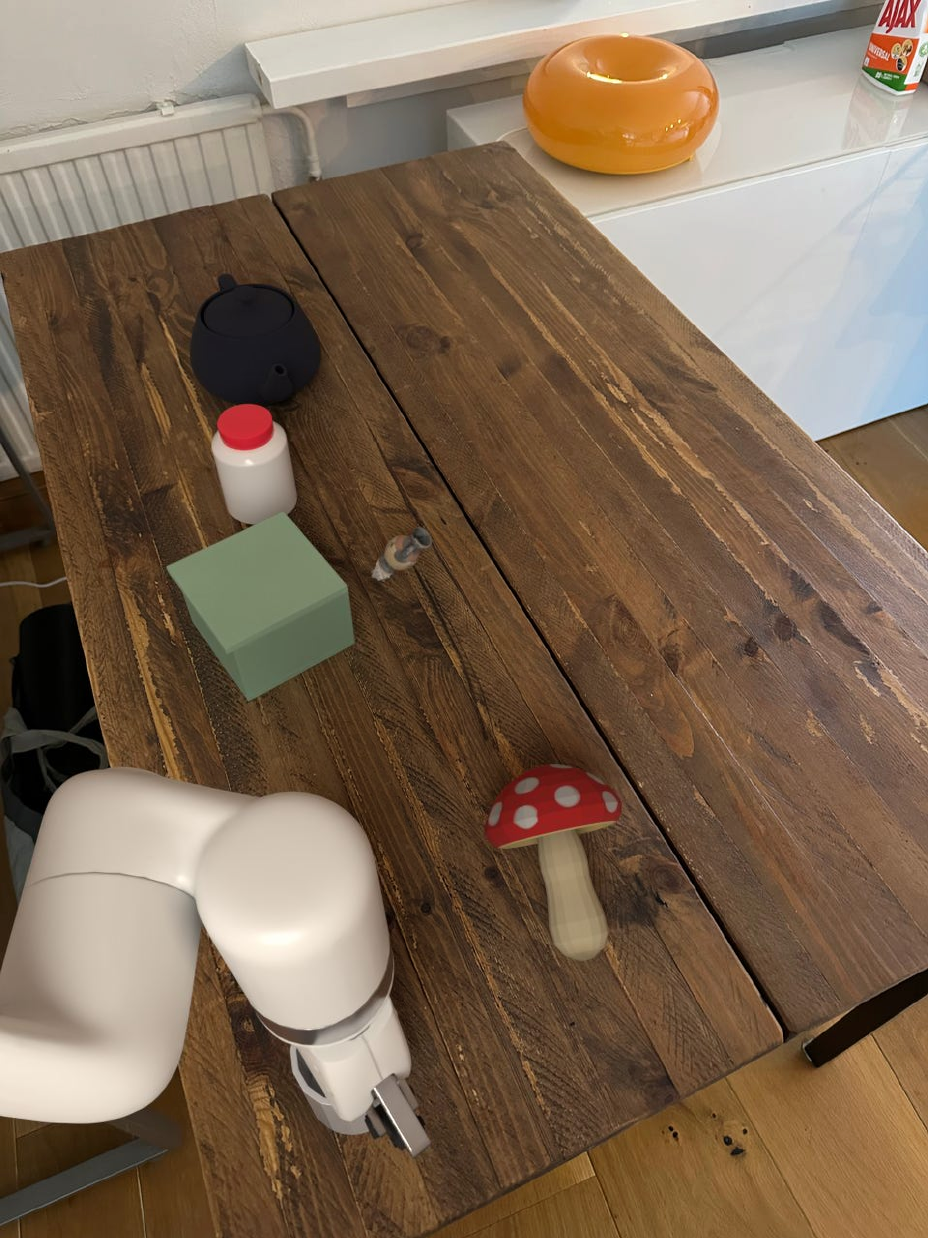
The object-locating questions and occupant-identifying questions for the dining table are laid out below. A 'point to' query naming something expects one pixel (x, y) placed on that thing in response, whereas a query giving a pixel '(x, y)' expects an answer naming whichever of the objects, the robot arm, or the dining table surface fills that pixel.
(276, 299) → the teapot
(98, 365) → the dining table surface
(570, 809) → the decorative mushroom
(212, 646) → the container
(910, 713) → the dining table surface
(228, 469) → the pill bottle
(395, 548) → the vase
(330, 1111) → the cup
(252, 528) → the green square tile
